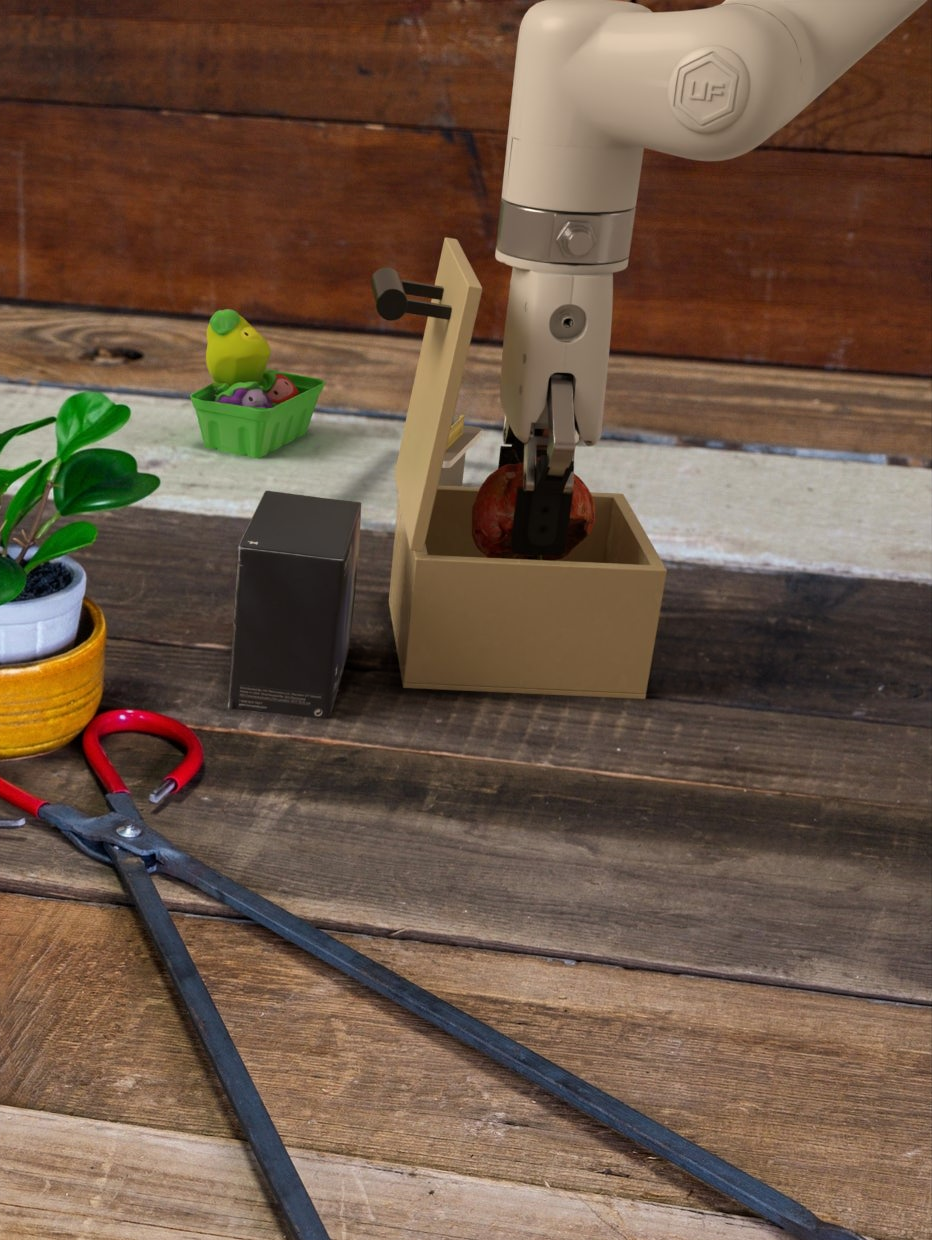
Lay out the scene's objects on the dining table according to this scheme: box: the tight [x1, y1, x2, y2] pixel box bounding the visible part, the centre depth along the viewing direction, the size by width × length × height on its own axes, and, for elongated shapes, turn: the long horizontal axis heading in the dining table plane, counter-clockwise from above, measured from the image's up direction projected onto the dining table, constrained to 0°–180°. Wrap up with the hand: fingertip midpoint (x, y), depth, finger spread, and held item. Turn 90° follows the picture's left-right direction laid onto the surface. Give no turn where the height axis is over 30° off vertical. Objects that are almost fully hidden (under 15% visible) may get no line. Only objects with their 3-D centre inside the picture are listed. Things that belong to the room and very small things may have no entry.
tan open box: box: [388, 485, 668, 700], centre depth 106 cm, size 15×14×9 cm
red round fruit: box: [472, 450, 595, 561], centre depth 103 cm, size 7×7×10 cm
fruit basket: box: [189, 308, 326, 459], centre depth 143 cm, size 11×9×11 cm
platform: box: [438, 414, 483, 486], centre depth 132 cm, size 12×18×7 cm, turn 157°
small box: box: [226, 490, 362, 720], centre depth 100 cm, size 11×6×10 cm, turn 170°
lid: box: [370, 237, 483, 552], centre depth 100 cm, size 15×14×5 cm
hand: (528, 528), depth 104 cm, fingers closed on red round fruit, 7 cm apart
